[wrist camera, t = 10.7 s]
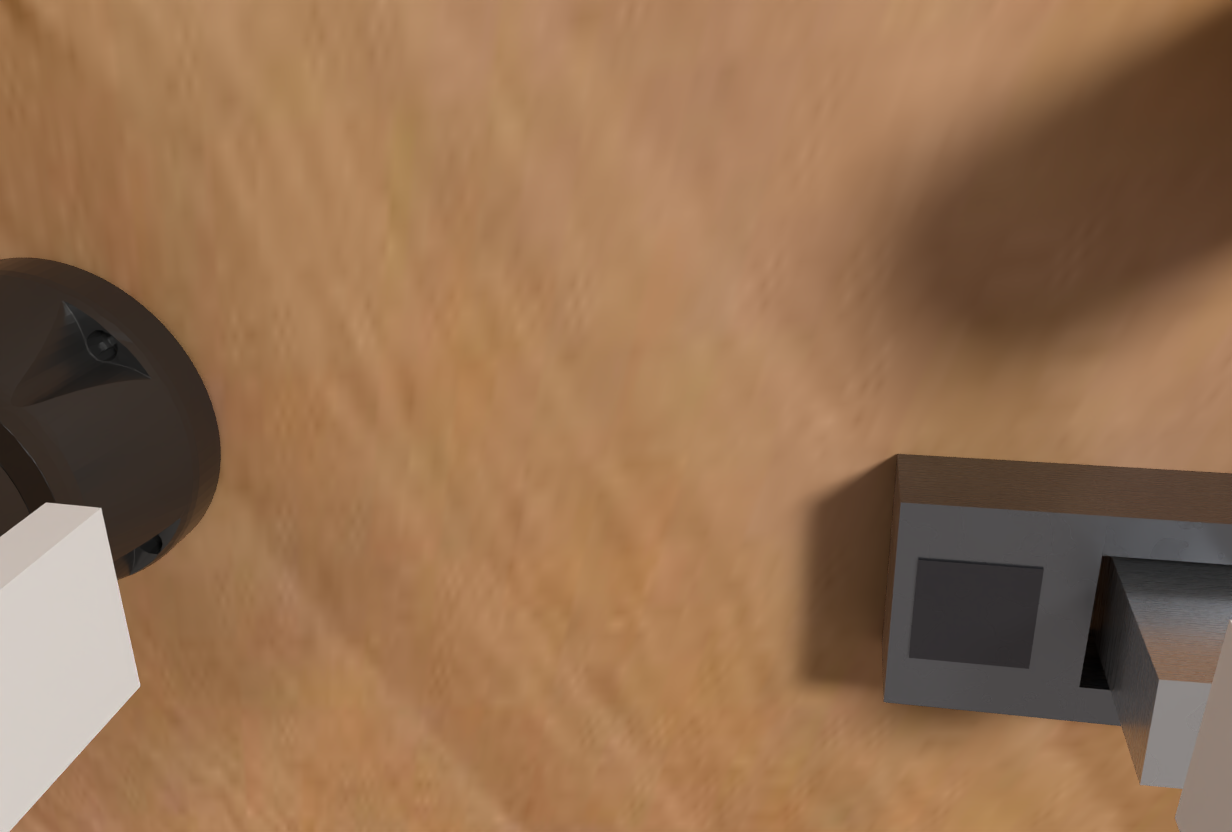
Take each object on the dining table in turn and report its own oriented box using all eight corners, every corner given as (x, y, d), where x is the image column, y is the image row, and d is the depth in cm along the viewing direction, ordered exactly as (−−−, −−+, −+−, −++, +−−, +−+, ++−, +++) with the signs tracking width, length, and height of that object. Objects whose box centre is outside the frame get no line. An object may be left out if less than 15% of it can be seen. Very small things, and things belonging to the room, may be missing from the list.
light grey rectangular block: (1085, 611, 45) (1140, 784, 36) (1098, 521, 43) (1159, 679, 35) (1197, 619, 44) (1281, 798, 35) (1214, 527, 43) (1308, 691, 34)
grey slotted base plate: (882, 642, 48) (883, 703, 44) (897, 454, 44) (900, 503, 40) (1402, 689, 44) (1451, 760, 40) (1467, 487, 40) (1528, 545, 36)
